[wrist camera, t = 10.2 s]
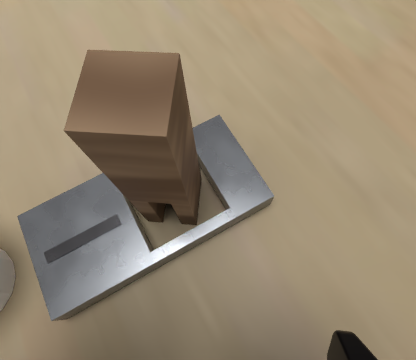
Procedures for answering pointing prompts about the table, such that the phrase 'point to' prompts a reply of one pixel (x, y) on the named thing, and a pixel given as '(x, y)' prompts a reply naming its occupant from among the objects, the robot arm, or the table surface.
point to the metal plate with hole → (129, 227)
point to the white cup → (6, 278)
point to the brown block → (139, 129)
